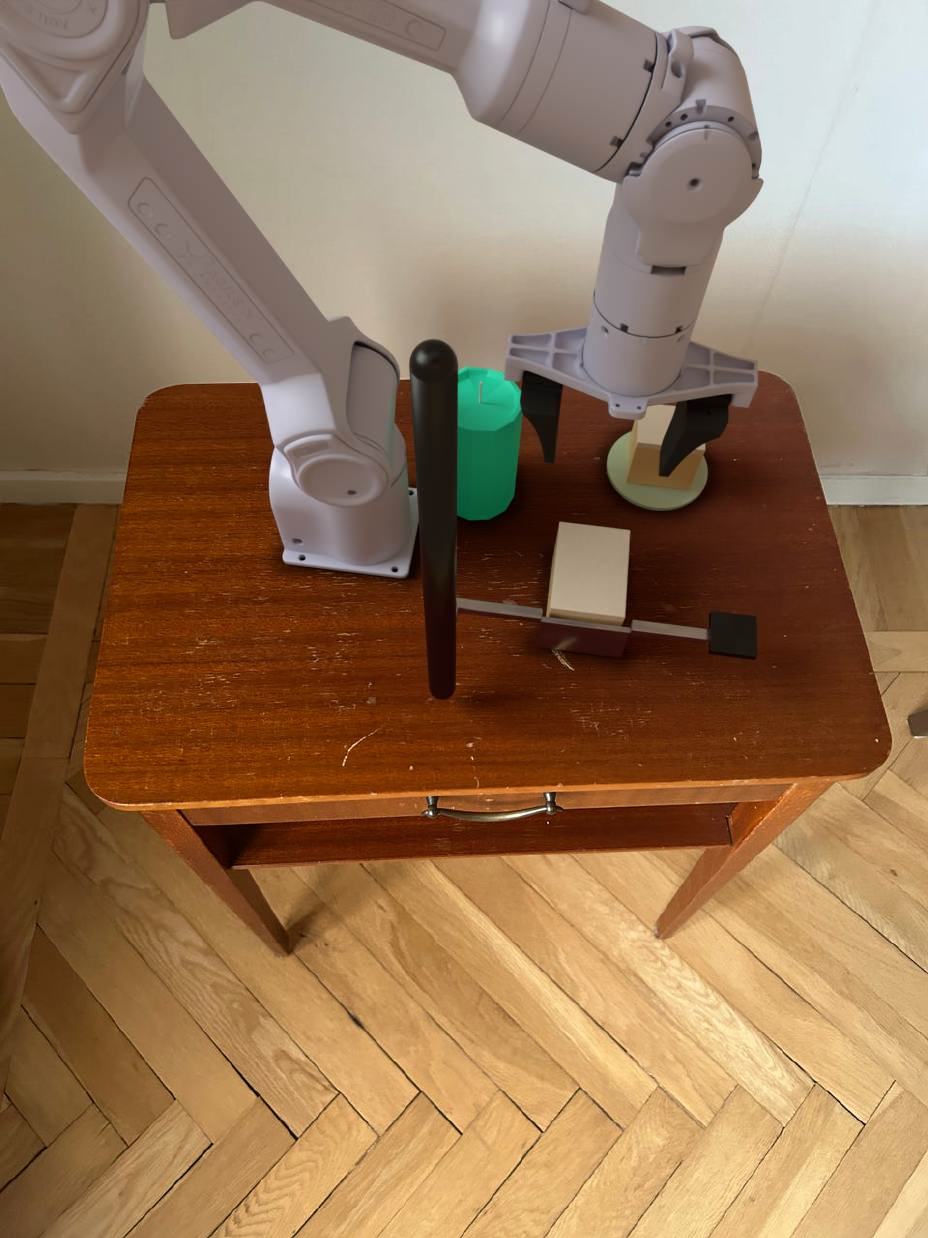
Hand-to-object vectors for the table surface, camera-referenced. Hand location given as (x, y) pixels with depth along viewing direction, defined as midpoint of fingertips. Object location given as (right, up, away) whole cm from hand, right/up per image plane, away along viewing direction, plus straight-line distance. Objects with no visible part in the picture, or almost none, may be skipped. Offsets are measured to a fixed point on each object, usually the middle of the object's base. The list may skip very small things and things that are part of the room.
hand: (607, 458), depth 59 cm
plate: (+6, +1, +11) cm, 13 cm away
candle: (-9, -1, +10) cm, 13 cm away
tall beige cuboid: (-1, -10, +6) cm, 11 cm away
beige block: (+6, +1, +11) cm, 12 cm away
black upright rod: (-1, -15, +2) cm, 15 cm away
